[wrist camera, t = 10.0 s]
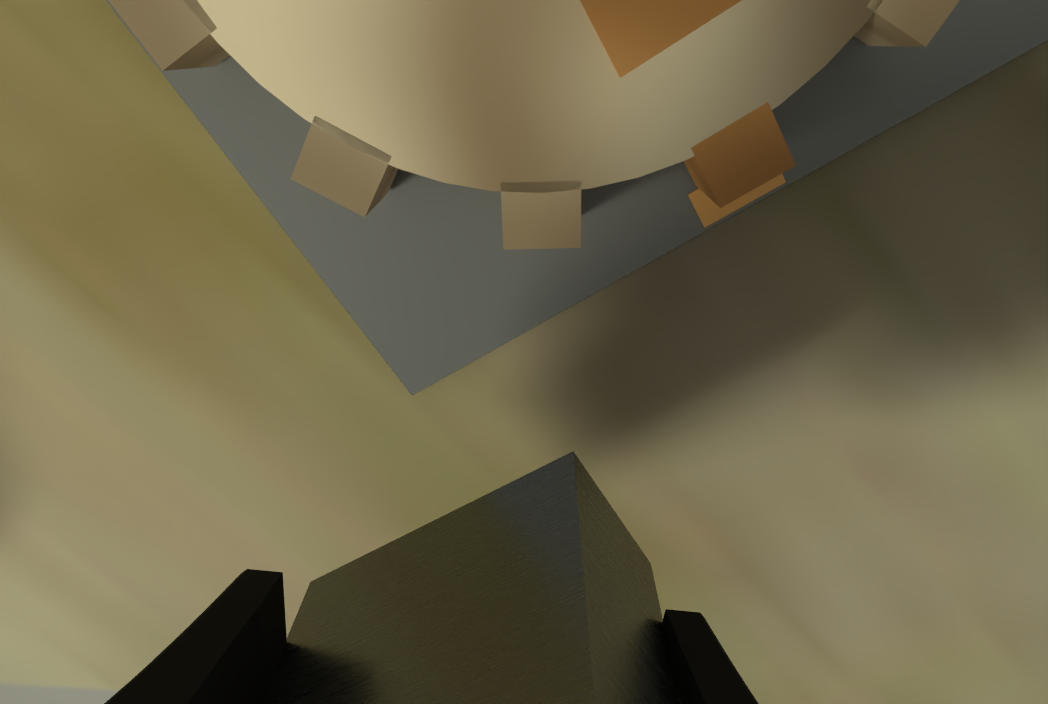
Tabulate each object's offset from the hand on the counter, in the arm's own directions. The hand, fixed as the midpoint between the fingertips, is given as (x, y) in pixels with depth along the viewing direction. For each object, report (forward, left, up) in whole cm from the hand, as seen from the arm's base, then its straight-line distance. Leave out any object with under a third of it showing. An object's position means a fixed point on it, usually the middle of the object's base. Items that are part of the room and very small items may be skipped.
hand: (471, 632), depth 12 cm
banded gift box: (0, 0, -1) cm, 1 cm away
